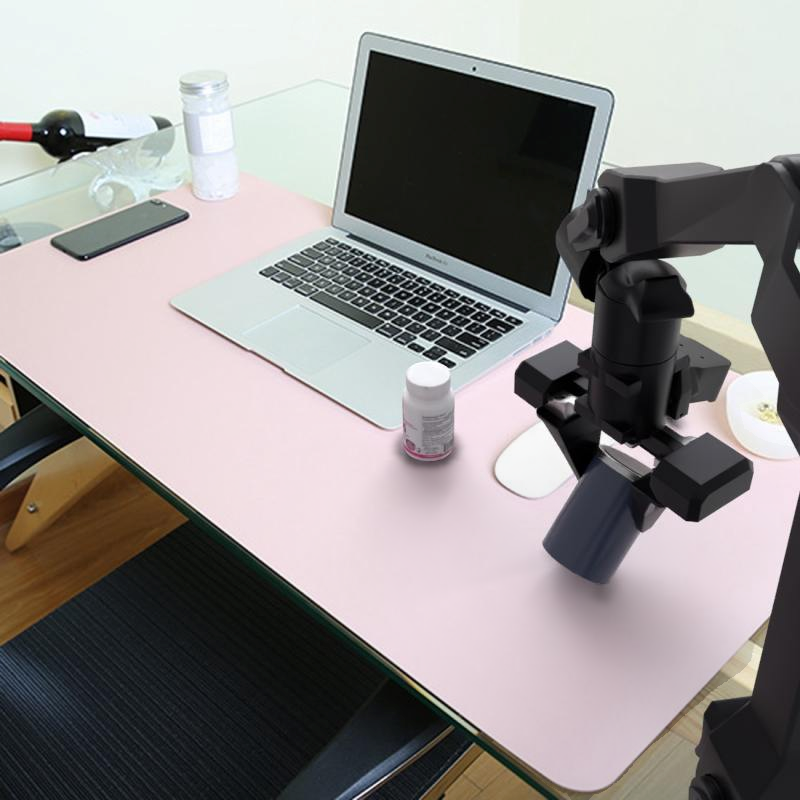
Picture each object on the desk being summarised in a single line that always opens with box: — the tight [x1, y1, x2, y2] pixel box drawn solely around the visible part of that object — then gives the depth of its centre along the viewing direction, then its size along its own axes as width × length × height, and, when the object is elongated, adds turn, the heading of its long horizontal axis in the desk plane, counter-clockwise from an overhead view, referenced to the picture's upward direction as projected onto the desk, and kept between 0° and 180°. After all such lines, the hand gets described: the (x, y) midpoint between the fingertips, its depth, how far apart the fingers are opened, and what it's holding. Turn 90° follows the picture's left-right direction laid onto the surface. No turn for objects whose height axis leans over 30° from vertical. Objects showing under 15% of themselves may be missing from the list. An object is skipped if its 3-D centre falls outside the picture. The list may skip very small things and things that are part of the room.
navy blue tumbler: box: [541, 443, 652, 586], centre depth 74 cm, size 6×6×9 cm
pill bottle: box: [401, 360, 456, 462], centre depth 87 cm, size 5×5×8 cm
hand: (615, 505), depth 74 cm, fingers closed on navy blue tumbler, 6 cm apart
